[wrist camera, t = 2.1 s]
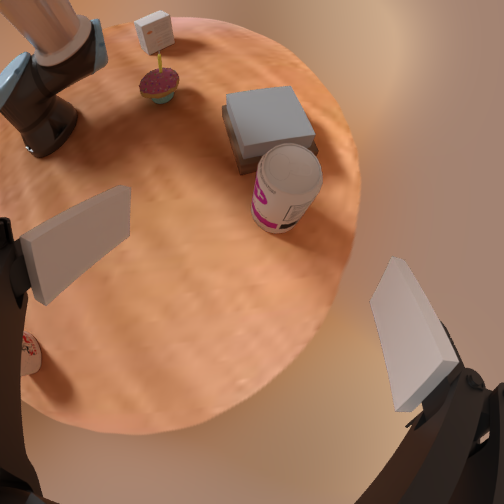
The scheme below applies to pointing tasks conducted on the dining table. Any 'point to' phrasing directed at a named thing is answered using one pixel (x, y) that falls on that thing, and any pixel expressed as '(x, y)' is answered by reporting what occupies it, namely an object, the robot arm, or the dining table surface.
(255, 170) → the tower base slab
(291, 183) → the supplement can
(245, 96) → the tower top slab
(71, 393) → the dining table surface
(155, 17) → the small box
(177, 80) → the cupcake
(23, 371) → the teacup with lid
